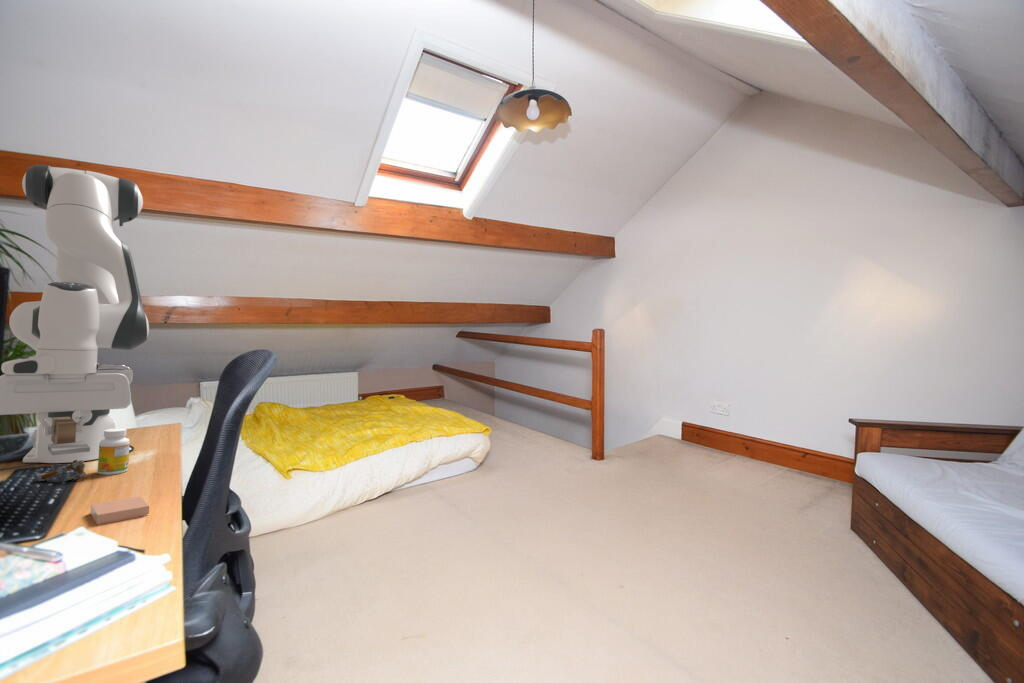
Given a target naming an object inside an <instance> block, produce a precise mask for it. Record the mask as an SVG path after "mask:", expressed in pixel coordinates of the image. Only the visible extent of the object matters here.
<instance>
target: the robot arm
mask: <svg viewBox="0 0 1024 683" xmlns="http://www.w3.org/2000/svg"><path fill="white" fill-rule="evenodd" d="M21 183H22V184H21V185H22V186H21V187H22V190H23V193H24V195H25V196H26V199H27V201H28V202H29V203H31V204H32V205H33V207H37V208H38V209H39V208H40V209H43V210H46V211H45V212H46V213H45V228H46V235H47V237H48V238H49V240H50V242H52V244H54V245H55V246H56V247H57V251H56V253H57V254H56V255H57V256H56V271H55V272H56V273H55V274H56V276H57V278H58V280H59V281H54V282H50V283H47V284H45V286H44V289H43V292H42V296H41V300H36V301H35V300H34V301H25V302H22V303H20V304H19V305H17V306H16V307H15V308H14V309H13V310H12V312H11V314H10V315H9V328H10V330H11V332H12V334H13V335H14V337H15V338H17V340H19V341H21V342H22V343H24V344H26V345H27V346H29V347H30V348H31V349H33V350H34V351H35V353H36V354H35V355H31V356H24V357H21V358H17V359H12V360H7V361H4V362H3V363H2V364H1V367H0V369H1V371H2V373H3V374H2V375H0V416H5V415H24V414H28V415H29V414H36V419H37V421H39V422H40V424H39V425H38V426H37V427H36V429H35V430H34V431H32V433H31V434H32V435H31V441H33V443H32V448H31V450H29V452H28V453H26V454H25V456H24V457H23V458H22V463H44V464H46V463H47V464H60V463H61V464H62V463H63V464H66V463H73V461H74V460H77V461H79V460H83V461H84V462H85V461H94V460H98V457H99V443H100V441H101V440H103V439H105V437H104V430H107V429H115V428H117V422H116V420H114V419H113V418H111V417H110V410H119V409H120V410H121V409H128V407H129V406H130V405H131V403H132V394H131V393H132V392H131V387H130V386H131V383H133V381H134V372H133V369H132V368H130V367H129V366H125V364H121V363H119V364H108V363H107V364H101V363H99V362H98V353H99V351H98V350H99V348H101V349H102V348H104V349H105V348H108V349H113V350H124V351H132V350H134V349H135V348H137V347H139V346H141V345H142V344H144V343H145V342H146V341H147V340H148V336H149V334H150V333H149V332H150V325H149V324H150V323H149V320H148V317H147V314H146V312H145V307H144V304H143V301H142V296H141V291H140V288H139V282H138V277H137V272H136V269H135V264H134V260H133V255H132V253H131V250H130V248H129V246H128V245H127V243H125V242H124V241H121V240H120V239H119V238H118V237H117V235H116V234H115V233H114V228H113V223H114V221H117V220H119V225H118V226H119V227H123V226H124V224H125V223H128V222H132V221H133V220H134V219H136V218H137V217H139V214H140V213H141V211H142V209H143V206H144V198H143V195H142V193H141V190H140V188H139V186H138V184H136V182H134V181H131V179H127V178H123V177H119V178H118V177H115V176H112V175H107V174H105V173H101V172H96V171H90V170H82V169H75V168H68V167H57V166H55V167H54V166H51V165H50V164H48V165H47V164H33V165H32V166H30V167H28V168H27V169H26V172H25V174H24V175H23V178H22V181H21ZM54 417H70V418H71V419H73V420H74V421H75V422H76V439H75V442H85V443H86V444H87V445H88V446H89V447H90V452H82V453H72V454H61V455H51V453H50V452H49V450H48V445H49V444H54V443H53V442H52V441H51V436H53V435H55V425H52V418H54Z"/></svg>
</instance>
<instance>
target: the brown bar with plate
mask: <svg viewBox="0 0 1024 683" xmlns="http://www.w3.org/2000/svg"><path fill="white" fill-rule="evenodd" d="M52 425H55V435H53V436H51V441H52V442H53V443H54V444H49V445H48V450H49V452H50V453H51V455H61V454H72V453H82V452H90V447H89V446H88V445H87V444H86V443H85V442H75V439H76V422H75V421H74V420H73V419H71V418H70V417H54V418H52Z"/></svg>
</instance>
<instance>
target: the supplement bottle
mask: <svg viewBox="0 0 1024 683" xmlns="http://www.w3.org/2000/svg"><path fill="white" fill-rule="evenodd" d="M126 436H127V428H124V427H123V428H122V427H121V428H118V427H116V428H115V429H107V430H104V437H105V439H103V440H101V441H100V443H99V457H98V459H97V474H98V475H104V476H105V475H106V476H107V475H109V476H111V475H118V474H123V473H125V472H127V471H128V470H129V459H130V458H129V457H130V445H131V444H130V442H131V441H130V439H129V438H127V437H126Z"/></svg>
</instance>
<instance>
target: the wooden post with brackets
mask: <svg viewBox="0 0 1024 683" xmlns="http://www.w3.org/2000/svg"><path fill="white" fill-rule="evenodd" d="M84 463H85V461H83V460H79V461H77V460H74V461H73V462H71V463H70V464H69V465H66V466H65V465H64V466H62V467H60V468H58V469H56V470H54V471H52V472H51V471H50V472H48V473H46V472H43V473H39V474H37V476H36V477H37V478H38V481H40V480H42V479H48V480H49V478H51V477H53V476H56V475H60V474H61V473H62V474H63V473H65V472H67V471H70V470H72V471H73V470H74V471H76V472H78V473H79V474H73V475H72V476H68V477H66V479H74V480H73V481H76V480H78V478H81V479H82V480H86V479H88V476H87V474H86V472H85V471H84V469H83V468H82V465H83V464H84Z"/></svg>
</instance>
